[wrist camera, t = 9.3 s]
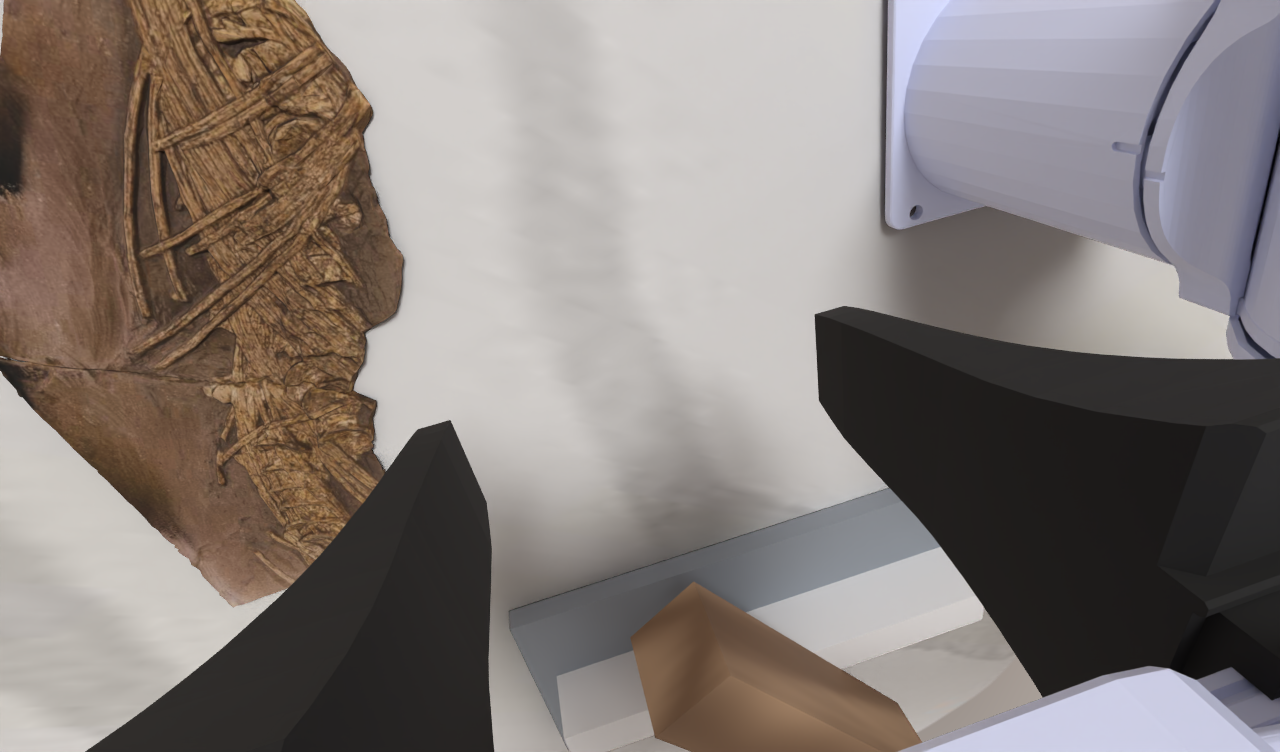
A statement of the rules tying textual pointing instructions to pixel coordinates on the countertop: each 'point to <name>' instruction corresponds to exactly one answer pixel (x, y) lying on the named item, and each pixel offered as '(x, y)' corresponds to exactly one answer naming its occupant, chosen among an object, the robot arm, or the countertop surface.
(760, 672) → the walnut batten
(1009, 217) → the countertop surface
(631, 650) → the balance stand
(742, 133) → the countertop surface
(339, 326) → the fossil skeleton slab
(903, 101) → the robot arm
